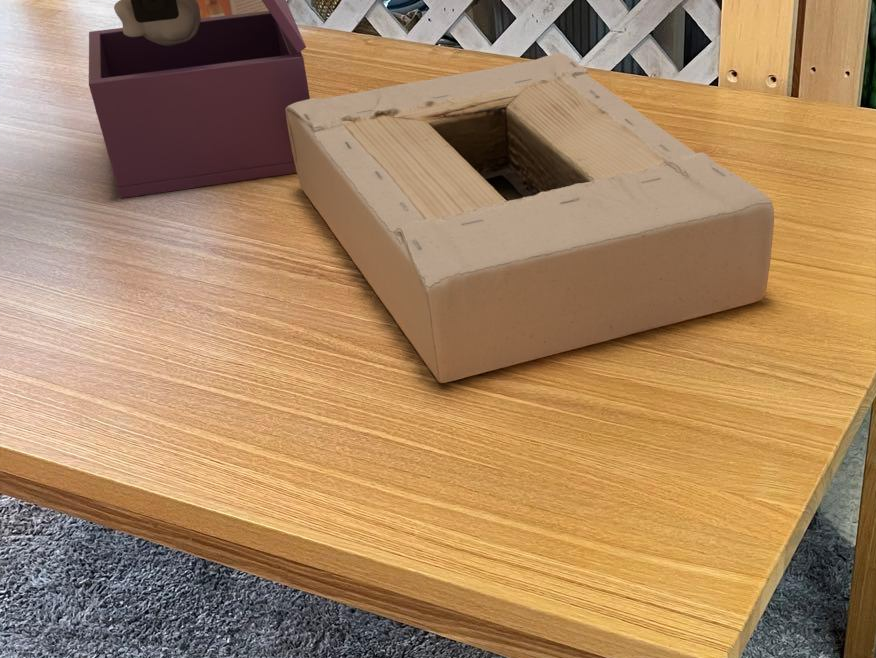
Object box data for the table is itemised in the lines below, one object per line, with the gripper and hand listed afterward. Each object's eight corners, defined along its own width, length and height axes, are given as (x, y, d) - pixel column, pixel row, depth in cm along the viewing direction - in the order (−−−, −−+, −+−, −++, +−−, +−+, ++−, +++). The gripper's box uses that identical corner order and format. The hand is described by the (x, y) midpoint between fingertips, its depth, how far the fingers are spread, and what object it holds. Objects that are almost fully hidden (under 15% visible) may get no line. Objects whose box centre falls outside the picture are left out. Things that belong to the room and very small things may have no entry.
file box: (120, 198, 92) (88, 83, 86) (117, 138, 101) (88, 31, 95) (321, 169, 95) (303, 56, 89) (300, 114, 104) (283, 8, 98)
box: (292, 193, 92) (437, 392, 69) (276, 93, 87) (426, 272, 64) (560, 141, 99) (771, 305, 76) (559, 46, 94) (784, 191, 72)
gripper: (36, -288, 84) (104, -17, 96) (26, -260, 71) (106, 48, 83) (144, -295, 85) (198, -27, 97) (153, -269, 73) (214, 35, 84)
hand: (155, 5), depth 90 cm, fingers closed on rubber duck, 5 cm apart
